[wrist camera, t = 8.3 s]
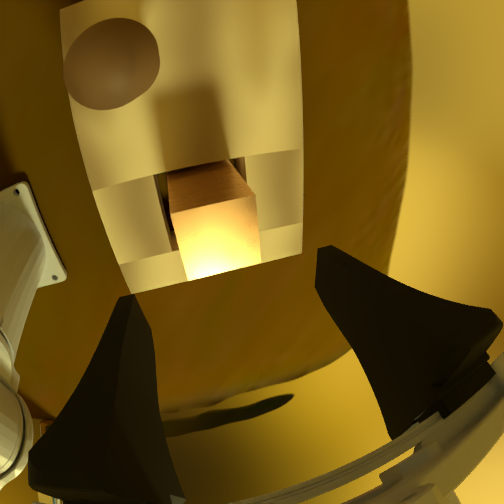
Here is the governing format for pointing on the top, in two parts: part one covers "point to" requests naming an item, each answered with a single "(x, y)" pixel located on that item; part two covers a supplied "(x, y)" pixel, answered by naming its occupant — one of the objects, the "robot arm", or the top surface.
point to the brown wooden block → (213, 218)
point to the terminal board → (185, 116)
